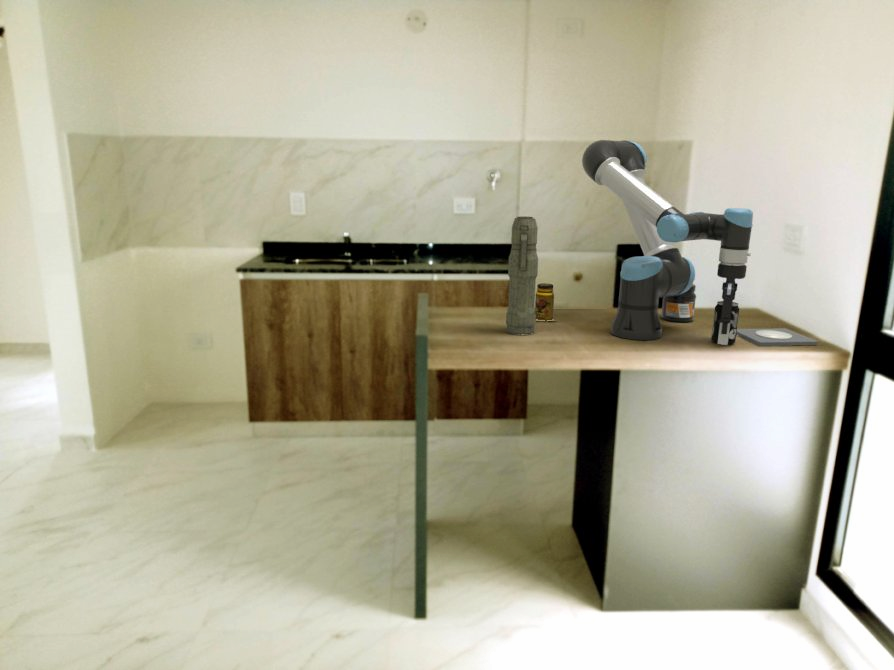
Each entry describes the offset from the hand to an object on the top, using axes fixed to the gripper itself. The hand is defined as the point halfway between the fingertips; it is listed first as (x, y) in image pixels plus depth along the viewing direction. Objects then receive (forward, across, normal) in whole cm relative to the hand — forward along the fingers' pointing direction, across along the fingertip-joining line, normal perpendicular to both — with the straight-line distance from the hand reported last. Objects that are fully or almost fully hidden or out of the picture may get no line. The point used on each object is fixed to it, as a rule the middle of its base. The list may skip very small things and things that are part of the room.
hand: (723, 341), depth 199 cm
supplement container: (+1, +27, +15) cm, 31 cm away
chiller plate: (+1, +12, -14) cm, 18 cm away
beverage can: (+1, 0, 0) cm, 1 cm away
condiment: (+1, +6, +56) cm, 56 cm away
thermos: (+1, -14, +58) cm, 59 cm away
